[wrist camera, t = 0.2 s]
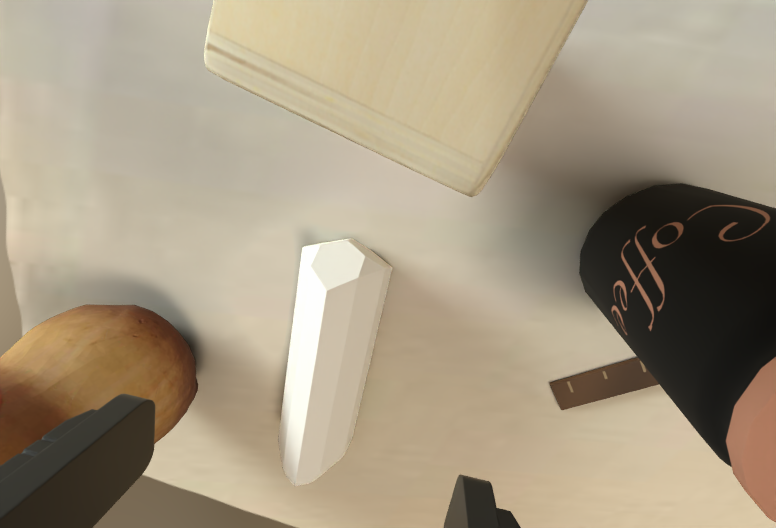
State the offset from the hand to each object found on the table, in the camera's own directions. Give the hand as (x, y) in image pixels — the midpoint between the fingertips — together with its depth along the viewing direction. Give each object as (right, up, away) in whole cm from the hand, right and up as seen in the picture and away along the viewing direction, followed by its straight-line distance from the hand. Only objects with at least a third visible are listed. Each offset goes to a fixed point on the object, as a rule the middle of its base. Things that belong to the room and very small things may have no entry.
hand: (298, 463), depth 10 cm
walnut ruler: (+24, -4, +23) cm, 33 cm away
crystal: (-3, -3, +26) cm, 26 cm away
